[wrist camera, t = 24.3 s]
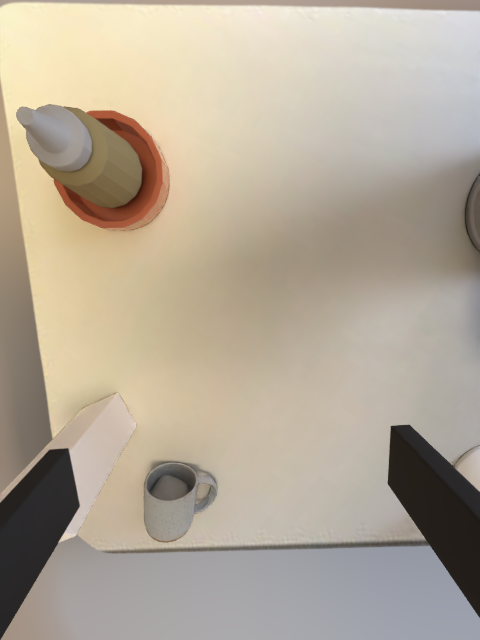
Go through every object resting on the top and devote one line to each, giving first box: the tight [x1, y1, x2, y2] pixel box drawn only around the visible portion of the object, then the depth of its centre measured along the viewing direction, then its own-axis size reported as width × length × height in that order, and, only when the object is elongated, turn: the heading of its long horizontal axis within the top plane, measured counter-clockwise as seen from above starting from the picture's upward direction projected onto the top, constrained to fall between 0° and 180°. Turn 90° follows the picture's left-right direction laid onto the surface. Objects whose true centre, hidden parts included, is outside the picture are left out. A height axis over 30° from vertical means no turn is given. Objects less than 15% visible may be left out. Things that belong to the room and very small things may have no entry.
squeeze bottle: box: [16, 104, 142, 208], centre depth 30 cm, size 8×8×18 cm
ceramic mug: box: [144, 462, 217, 542], centre depth 45 cm, size 11×8×8 cm
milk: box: [0, 393, 136, 543], centre depth 35 cm, size 6×6×22 cm
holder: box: [54, 111, 169, 230], centre depth 37 cm, size 13×13×4 cm
